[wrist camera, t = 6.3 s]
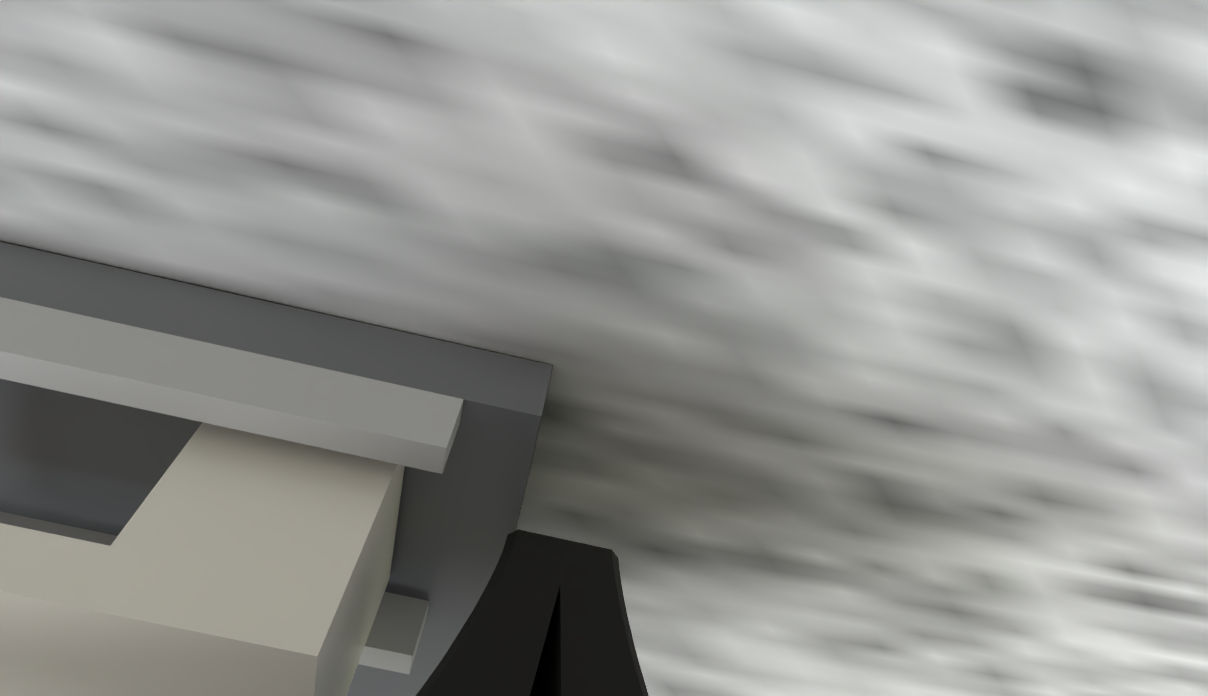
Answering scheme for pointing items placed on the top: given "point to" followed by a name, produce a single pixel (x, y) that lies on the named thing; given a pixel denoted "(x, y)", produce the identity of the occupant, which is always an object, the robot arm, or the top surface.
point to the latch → (209, 579)
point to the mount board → (262, 425)
